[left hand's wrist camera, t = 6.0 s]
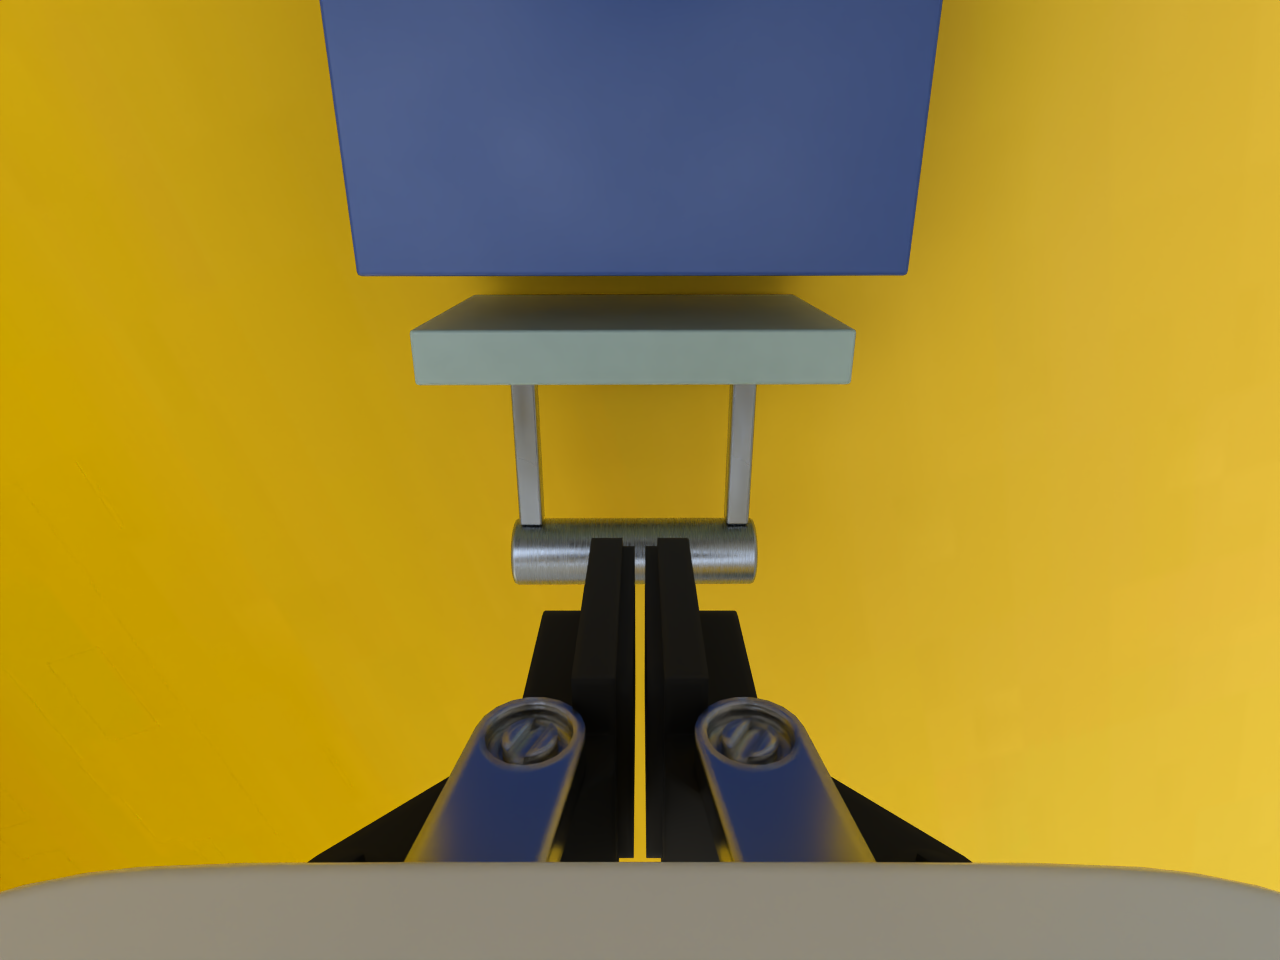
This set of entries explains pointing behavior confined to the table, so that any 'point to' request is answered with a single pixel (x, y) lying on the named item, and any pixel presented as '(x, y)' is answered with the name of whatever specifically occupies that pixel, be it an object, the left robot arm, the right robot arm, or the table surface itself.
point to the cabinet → (631, 135)
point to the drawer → (632, 355)
